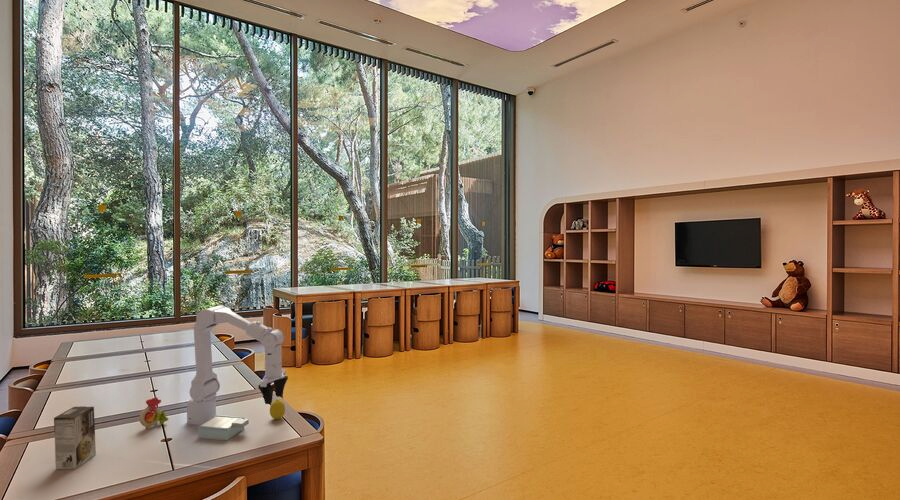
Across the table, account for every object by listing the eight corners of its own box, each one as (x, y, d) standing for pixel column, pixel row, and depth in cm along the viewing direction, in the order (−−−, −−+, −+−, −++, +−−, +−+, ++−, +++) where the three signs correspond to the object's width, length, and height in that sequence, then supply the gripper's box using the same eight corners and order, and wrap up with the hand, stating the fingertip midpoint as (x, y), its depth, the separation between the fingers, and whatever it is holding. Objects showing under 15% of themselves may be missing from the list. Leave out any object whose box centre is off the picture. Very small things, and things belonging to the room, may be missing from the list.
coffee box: (75, 455, 153) (73, 406, 152) (96, 454, 154) (95, 405, 153) (54, 469, 144) (52, 417, 143) (76, 469, 144) (75, 416, 144)
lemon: (280, 423, 179) (279, 402, 179) (266, 422, 180) (266, 401, 180) (287, 417, 184) (287, 397, 184) (274, 416, 185) (274, 396, 185)
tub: (198, 439, 165) (198, 426, 165) (216, 427, 175) (216, 415, 175) (227, 441, 164) (227, 428, 163) (244, 429, 173) (244, 417, 173)
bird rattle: (154, 435, 173) (174, 417, 180) (141, 412, 168) (162, 394, 176) (142, 432, 175) (162, 414, 182) (129, 410, 170) (150, 392, 178)
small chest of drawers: (200, 427, 166) (200, 423, 166) (216, 418, 174) (216, 414, 174) (238, 430, 164) (238, 426, 164) (252, 421, 172) (252, 416, 172)
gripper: (273, 369, 167) (273, 407, 168) (293, 358, 181) (293, 393, 182) (254, 368, 168) (255, 406, 169) (275, 357, 182) (276, 392, 183)
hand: (273, 399), depth 175 cm, fingers open, 7 cm apart
